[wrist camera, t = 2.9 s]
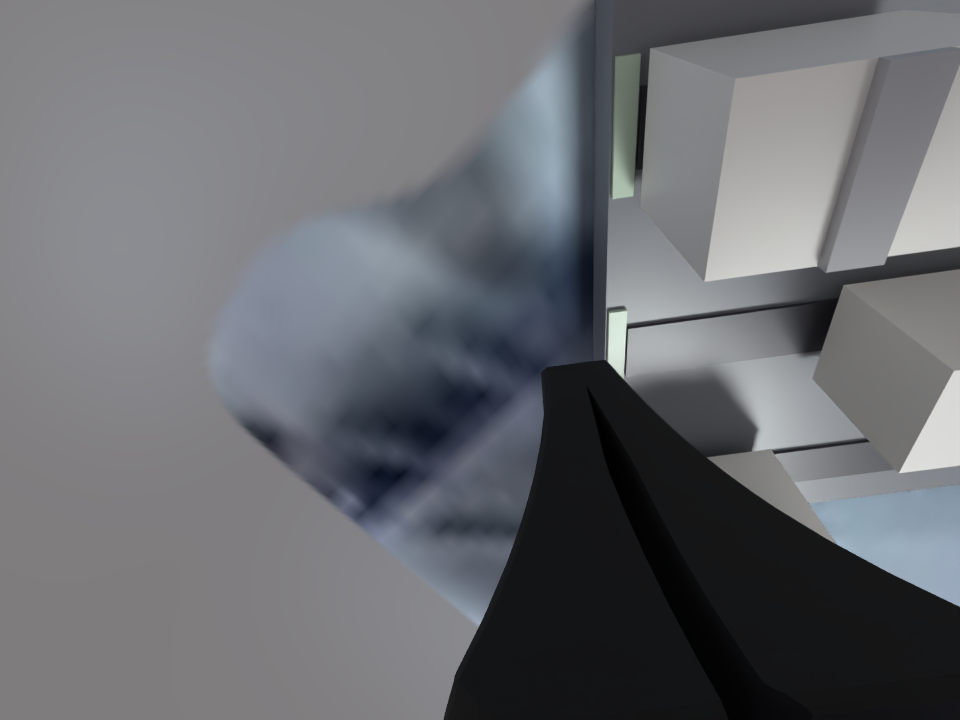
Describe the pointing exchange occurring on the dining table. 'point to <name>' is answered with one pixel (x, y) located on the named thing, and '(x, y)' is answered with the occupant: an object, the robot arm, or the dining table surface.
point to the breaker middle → (899, 367)
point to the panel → (728, 302)
